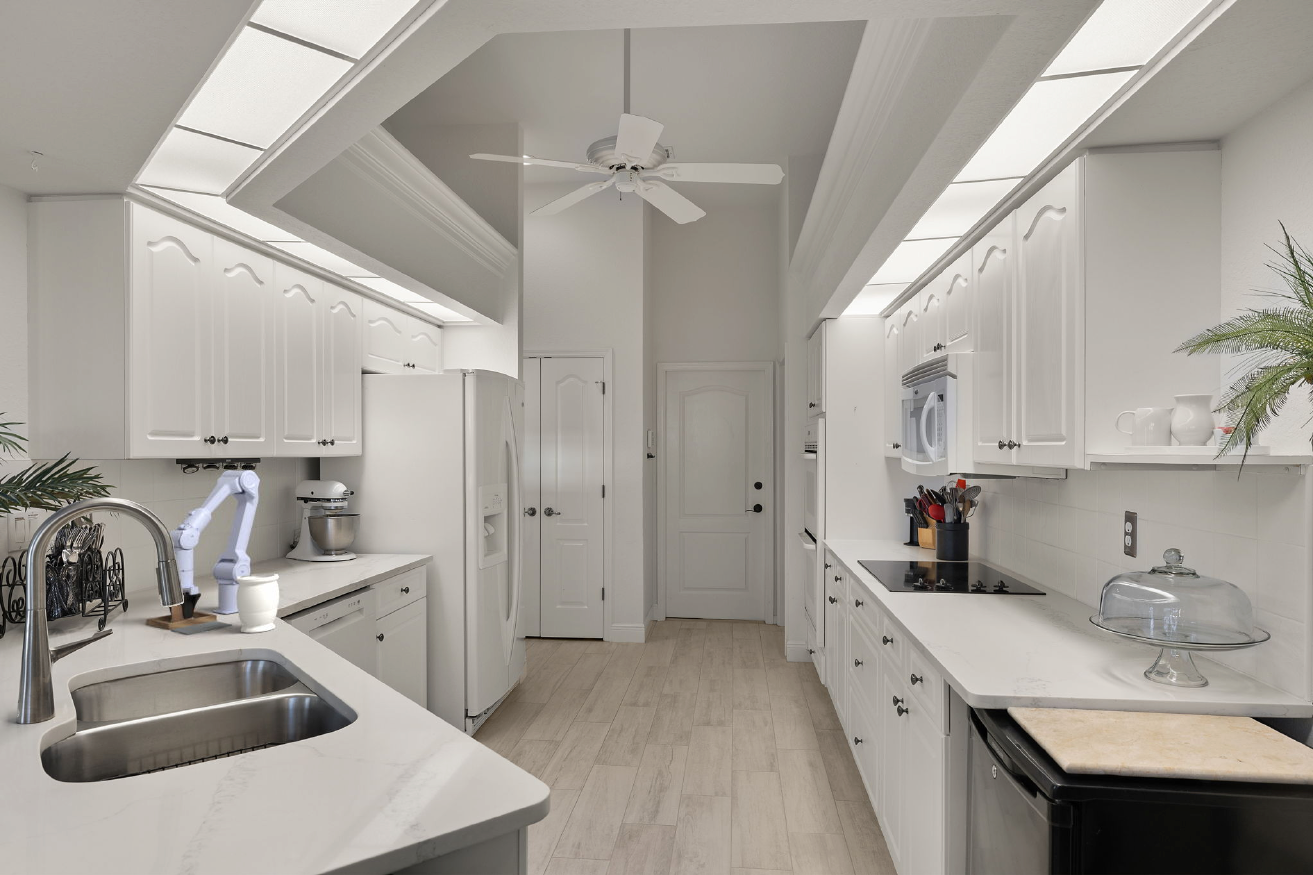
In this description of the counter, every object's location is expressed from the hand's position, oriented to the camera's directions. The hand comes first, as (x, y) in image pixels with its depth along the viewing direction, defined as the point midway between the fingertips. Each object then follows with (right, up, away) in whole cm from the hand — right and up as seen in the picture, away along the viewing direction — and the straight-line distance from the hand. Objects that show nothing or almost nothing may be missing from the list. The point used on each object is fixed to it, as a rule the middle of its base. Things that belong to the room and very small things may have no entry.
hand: (181, 616), depth 216 cm
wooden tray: (0, -2, 0) cm, 2 cm away
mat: (+11, -1, -8) cm, 13 cm away
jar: (+28, -1, -10) cm, 30 cm away
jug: (0, -2, 0) cm, 2 cm away
